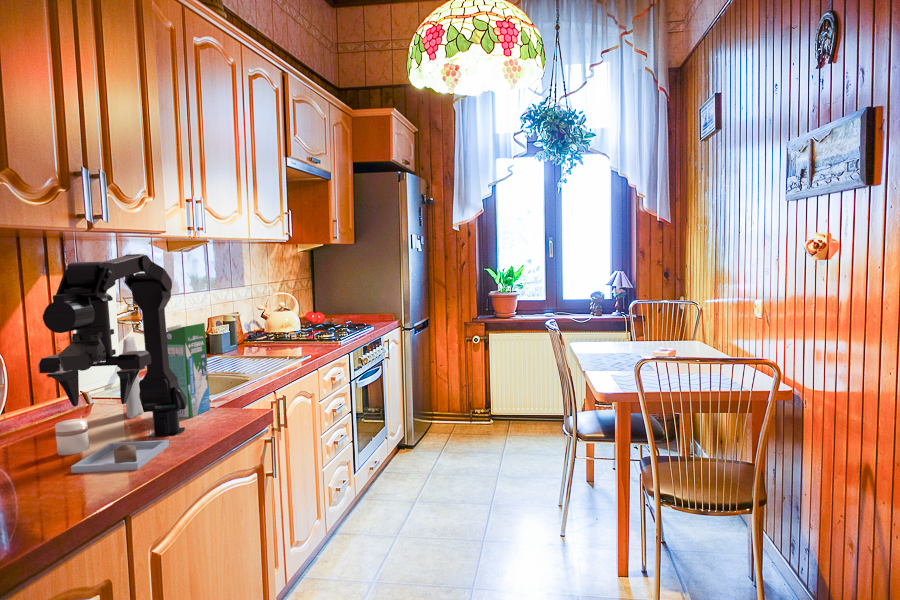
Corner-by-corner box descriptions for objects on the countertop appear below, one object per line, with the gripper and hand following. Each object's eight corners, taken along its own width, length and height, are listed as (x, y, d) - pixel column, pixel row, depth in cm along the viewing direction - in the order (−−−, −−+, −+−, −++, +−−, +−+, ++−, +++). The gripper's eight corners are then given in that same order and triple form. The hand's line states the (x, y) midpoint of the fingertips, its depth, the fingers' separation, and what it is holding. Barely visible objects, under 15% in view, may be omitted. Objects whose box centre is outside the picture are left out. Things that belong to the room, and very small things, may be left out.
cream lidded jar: (67, 449, 134) (65, 419, 134) (95, 447, 135) (92, 417, 134) (51, 458, 128) (48, 427, 128) (80, 456, 129) (77, 425, 128)
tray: (110, 450, 132) (109, 442, 132) (169, 447, 133) (168, 439, 133) (71, 475, 117) (70, 466, 117) (138, 471, 118) (137, 463, 118)
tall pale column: (138, 418, 160) (132, 338, 158) (121, 419, 159) (115, 339, 157) (146, 408, 170) (141, 333, 168) (131, 410, 169) (125, 334, 167)
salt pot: (121, 461, 123) (119, 441, 123) (140, 460, 123) (139, 441, 123) (111, 468, 119) (109, 448, 119) (131, 467, 119) (129, 447, 119)
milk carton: (182, 408, 168) (176, 322, 167) (210, 409, 167) (204, 322, 165) (161, 417, 160) (154, 326, 158) (190, 418, 158) (184, 326, 156)
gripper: (15, 333, 105) (23, 418, 106) (122, 329, 106) (128, 413, 107) (53, 326, 116) (59, 403, 117) (149, 322, 117) (155, 398, 118)
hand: (99, 404), depth 115 cm, fingers open, 9 cm apart
